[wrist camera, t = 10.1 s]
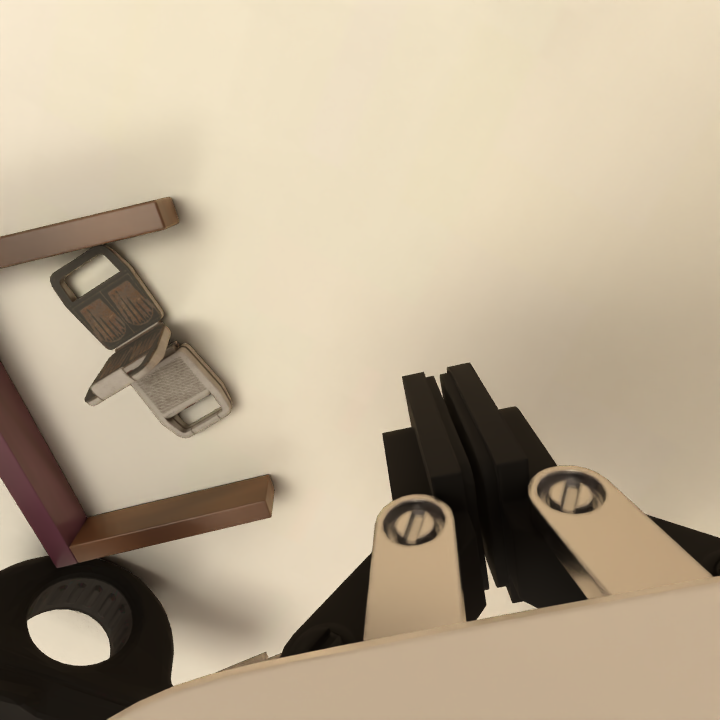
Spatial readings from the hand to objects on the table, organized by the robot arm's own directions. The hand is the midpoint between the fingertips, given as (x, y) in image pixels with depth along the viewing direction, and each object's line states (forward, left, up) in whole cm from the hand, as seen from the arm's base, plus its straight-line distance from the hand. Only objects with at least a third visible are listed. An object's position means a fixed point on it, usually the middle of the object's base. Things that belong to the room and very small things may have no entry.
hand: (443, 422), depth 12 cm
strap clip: (+10, -1, -10) cm, 14 cm away
